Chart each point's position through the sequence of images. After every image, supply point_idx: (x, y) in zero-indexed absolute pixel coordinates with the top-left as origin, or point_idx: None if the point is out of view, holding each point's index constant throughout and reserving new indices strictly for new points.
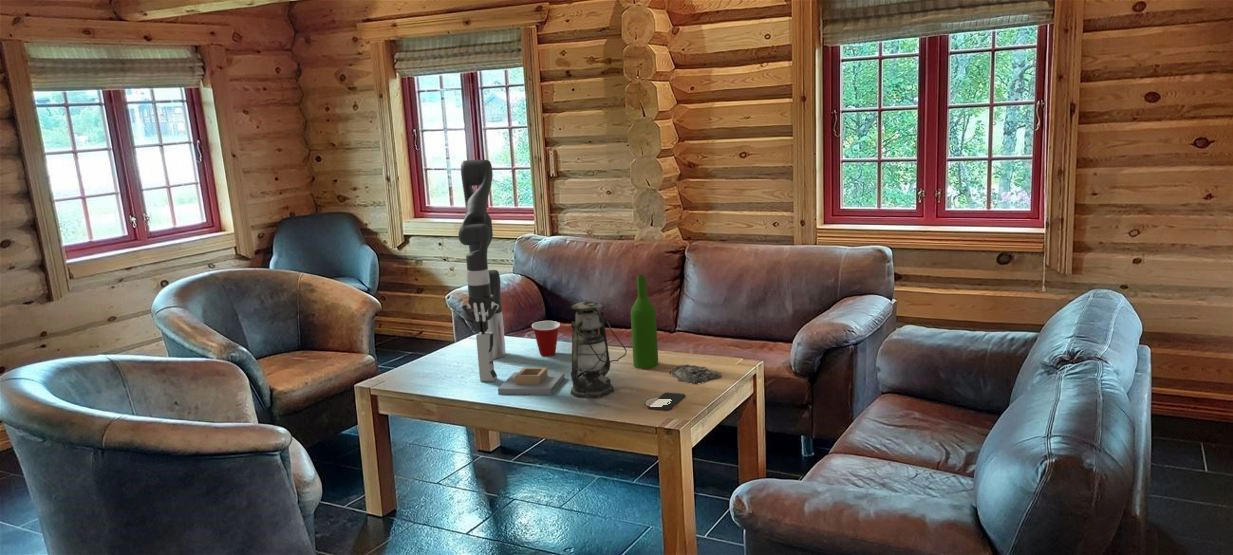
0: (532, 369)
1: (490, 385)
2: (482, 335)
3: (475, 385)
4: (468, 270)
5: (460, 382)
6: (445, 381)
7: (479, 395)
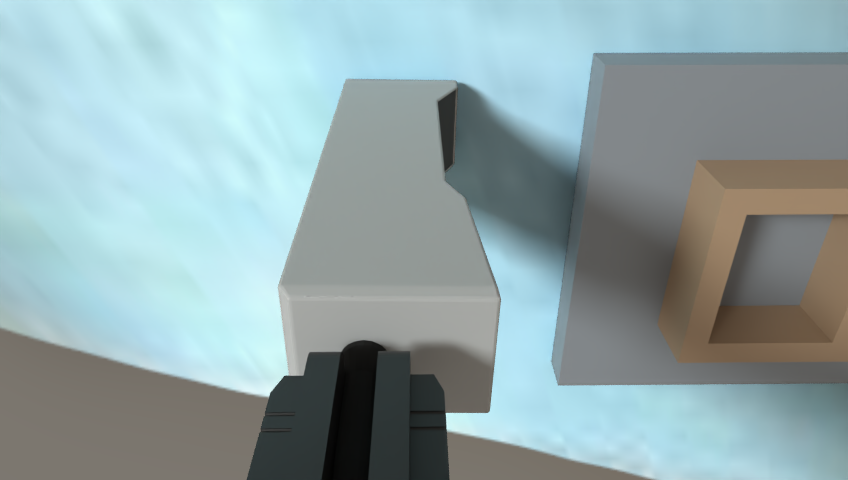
0: (799, 211)
1: None
2: None
3: None
4: None
5: (209, 168)
6: (80, 148)
7: None
